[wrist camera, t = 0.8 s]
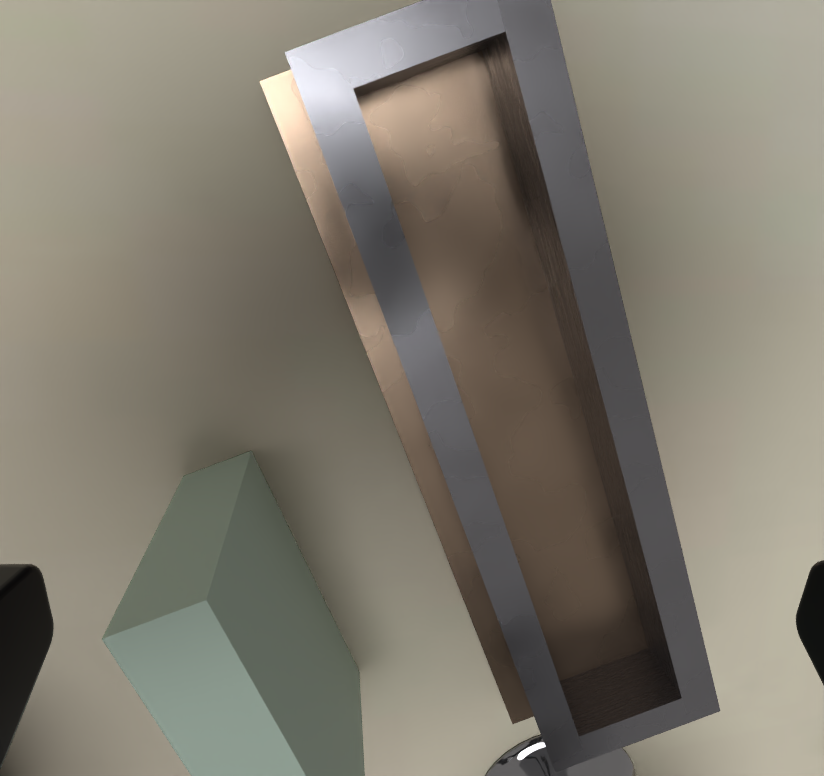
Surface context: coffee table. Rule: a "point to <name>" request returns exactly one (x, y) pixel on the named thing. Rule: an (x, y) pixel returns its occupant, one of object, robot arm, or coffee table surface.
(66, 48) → the coffee table surface
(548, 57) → the grey long open box
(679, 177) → the coffee table surface
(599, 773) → the wine glass
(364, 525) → the coffee table surface
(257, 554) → the pale green rectangular block
